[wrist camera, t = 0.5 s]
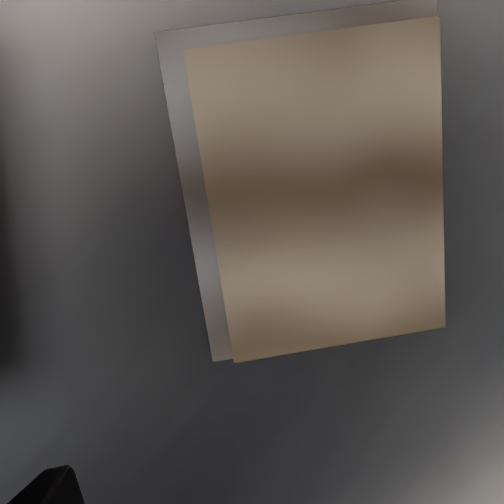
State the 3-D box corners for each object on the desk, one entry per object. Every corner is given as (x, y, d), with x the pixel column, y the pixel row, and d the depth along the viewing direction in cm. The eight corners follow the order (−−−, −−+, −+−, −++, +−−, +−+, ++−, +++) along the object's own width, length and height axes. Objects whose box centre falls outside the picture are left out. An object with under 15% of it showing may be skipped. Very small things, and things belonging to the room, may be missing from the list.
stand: (435, 316, 23) (468, 344, 20) (212, 353, 22) (213, 388, 20) (428, 0, 19) (467, -21, 16) (156, 35, 18) (147, 20, 16)
